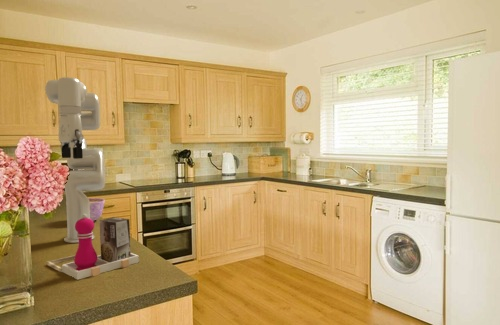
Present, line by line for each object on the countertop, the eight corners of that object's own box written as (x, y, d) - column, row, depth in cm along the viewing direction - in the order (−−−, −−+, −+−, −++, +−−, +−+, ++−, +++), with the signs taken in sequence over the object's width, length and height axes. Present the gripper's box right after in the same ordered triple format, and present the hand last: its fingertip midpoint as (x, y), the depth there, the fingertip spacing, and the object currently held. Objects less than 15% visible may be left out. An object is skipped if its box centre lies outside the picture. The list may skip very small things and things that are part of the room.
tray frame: (46, 264, 136) (46, 261, 136) (78, 257, 144) (78, 254, 144) (60, 271, 128) (60, 268, 128) (92, 263, 137) (92, 260, 137)
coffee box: (131, 262, 137) (130, 218, 136) (117, 267, 132) (115, 222, 131) (114, 258, 142) (113, 216, 141) (100, 263, 136) (98, 219, 136)
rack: (62, 271, 128) (62, 264, 128) (122, 256, 145) (122, 249, 145) (79, 280, 120) (78, 272, 120) (140, 262, 137) (140, 256, 137)
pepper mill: (71, 271, 128) (69, 213, 127) (93, 266, 133) (91, 211, 132) (79, 277, 123) (76, 216, 122) (101, 271, 128) (99, 213, 127)
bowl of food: (66, 220, 214) (66, 199, 214) (104, 216, 223) (103, 197, 222) (66, 227, 196) (65, 205, 195) (106, 223, 205) (106, 202, 204)
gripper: (50, 112, 142) (51, 158, 143) (70, 109, 130) (72, 159, 131) (70, 113, 147) (72, 157, 148) (91, 111, 136) (92, 158, 137)
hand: (72, 158), depth 140 cm, fingers open, 9 cm apart
